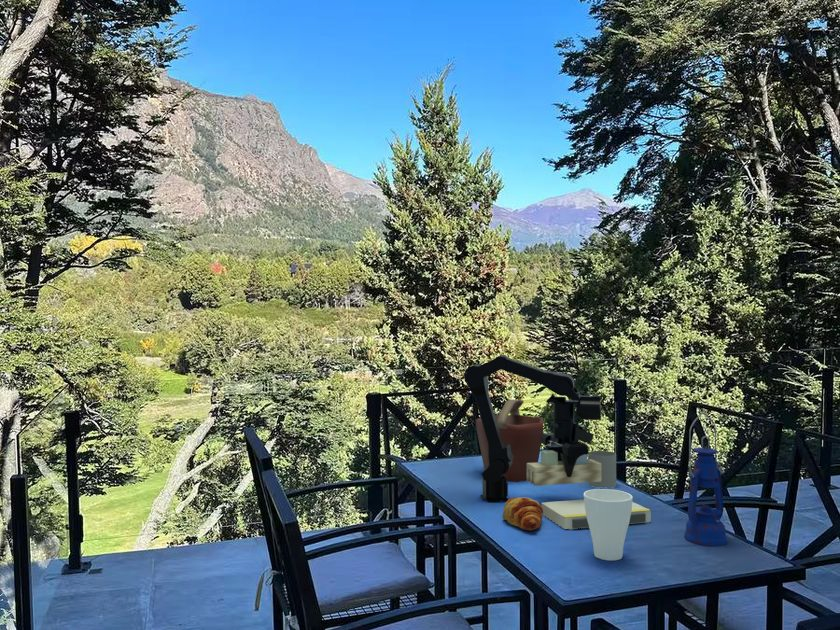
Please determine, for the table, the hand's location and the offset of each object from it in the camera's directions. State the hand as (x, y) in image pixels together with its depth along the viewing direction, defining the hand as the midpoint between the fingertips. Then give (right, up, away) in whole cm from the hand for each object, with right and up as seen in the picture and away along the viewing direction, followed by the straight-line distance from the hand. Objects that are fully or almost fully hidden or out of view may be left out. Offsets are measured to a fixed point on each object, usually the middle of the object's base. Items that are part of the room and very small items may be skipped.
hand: (563, 474), depth 190 cm
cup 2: (+1, -9, -41) cm, 42 cm away
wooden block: (0, -2, 0) cm, 2 cm away
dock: (+5, -8, -13) cm, 16 cm away
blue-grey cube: (+4, +3, +1) cm, 6 cm away
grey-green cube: (-4, +3, -1) cm, 5 cm away
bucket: (-10, -9, +34) cm, 36 cm away
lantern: (+27, -9, -30) cm, 42 cm away
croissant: (-14, -9, -16) cm, 23 cm away
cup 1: (+16, -9, +21) cm, 28 cm away
